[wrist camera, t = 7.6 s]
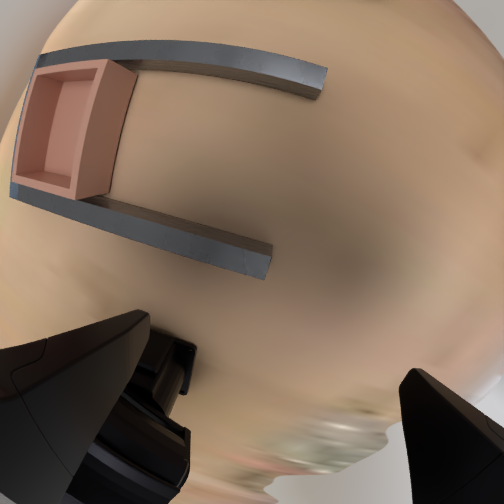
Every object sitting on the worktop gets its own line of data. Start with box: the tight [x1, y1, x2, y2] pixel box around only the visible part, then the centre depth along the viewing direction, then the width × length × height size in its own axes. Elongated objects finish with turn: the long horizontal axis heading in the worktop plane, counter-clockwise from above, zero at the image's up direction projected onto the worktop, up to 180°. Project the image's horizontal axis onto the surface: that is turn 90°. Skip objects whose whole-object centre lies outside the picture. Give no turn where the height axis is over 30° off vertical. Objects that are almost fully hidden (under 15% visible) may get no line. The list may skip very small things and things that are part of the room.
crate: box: [12, 59, 137, 200], centre depth 14 cm, size 9×8×4 cm
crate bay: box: [10, 40, 328, 280], centre depth 15 cm, size 13×23×2 cm, turn 75°
